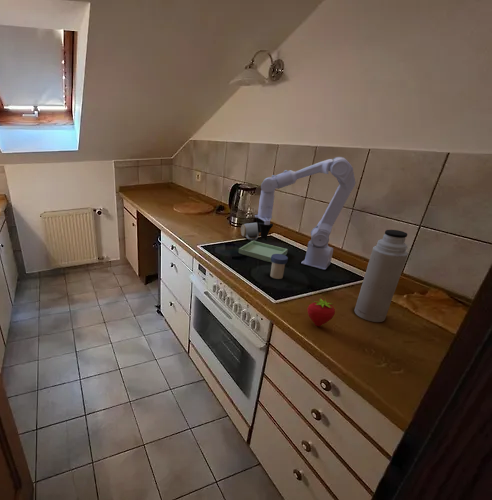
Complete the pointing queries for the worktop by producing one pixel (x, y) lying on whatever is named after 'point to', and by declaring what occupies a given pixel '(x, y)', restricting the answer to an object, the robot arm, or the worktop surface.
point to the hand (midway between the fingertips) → (261, 235)
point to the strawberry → (320, 312)
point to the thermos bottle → (382, 276)
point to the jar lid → (279, 259)
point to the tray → (261, 250)
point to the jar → (277, 270)
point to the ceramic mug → (250, 231)
